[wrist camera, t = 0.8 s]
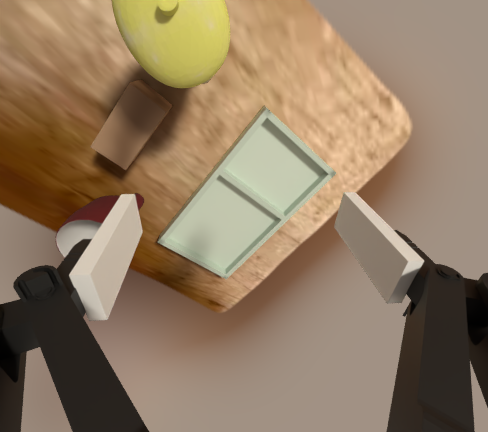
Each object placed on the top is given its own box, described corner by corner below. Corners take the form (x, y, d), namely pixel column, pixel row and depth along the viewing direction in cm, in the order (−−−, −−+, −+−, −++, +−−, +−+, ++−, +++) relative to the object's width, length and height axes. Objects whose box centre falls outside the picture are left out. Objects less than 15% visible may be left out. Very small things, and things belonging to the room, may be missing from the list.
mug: (120, 160, 36) (90, 191, 28) (166, 196, 40) (152, 234, 31) (80, 207, 39) (41, 248, 31) (126, 236, 43) (103, 280, 34)
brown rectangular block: (106, 136, 35) (90, 147, 30) (141, 79, 31) (129, 82, 27) (136, 157, 36) (125, 170, 32) (172, 105, 33) (166, 112, 29)
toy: (183, 92, 32) (160, 113, 20) (136, 9, 28) (67, -32, 15) (238, 60, 31) (252, 60, 18) (199, -32, 27) (182, -116, 14)
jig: (160, 234, 43) (157, 242, 41) (264, 105, 34) (266, 107, 32) (226, 270, 49) (226, 279, 47) (330, 167, 39) (336, 173, 38)
